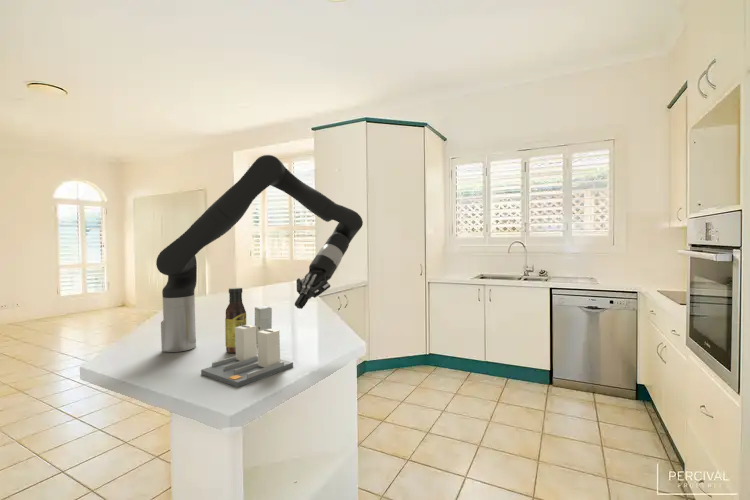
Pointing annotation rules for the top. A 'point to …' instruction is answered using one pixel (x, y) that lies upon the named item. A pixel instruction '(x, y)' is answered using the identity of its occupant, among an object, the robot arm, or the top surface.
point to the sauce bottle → (234, 317)
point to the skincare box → (263, 318)
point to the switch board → (242, 370)
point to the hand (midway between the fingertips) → (298, 306)
